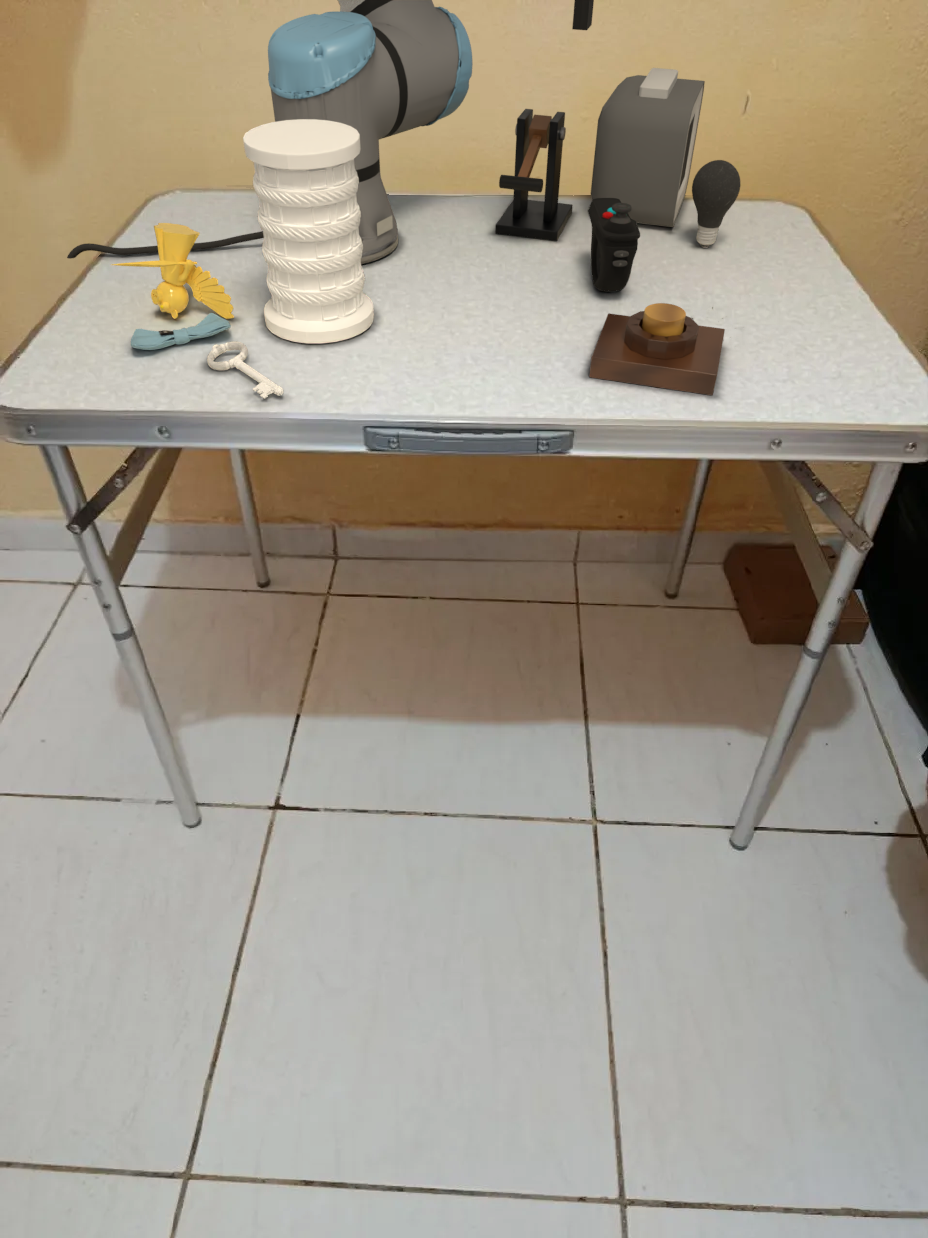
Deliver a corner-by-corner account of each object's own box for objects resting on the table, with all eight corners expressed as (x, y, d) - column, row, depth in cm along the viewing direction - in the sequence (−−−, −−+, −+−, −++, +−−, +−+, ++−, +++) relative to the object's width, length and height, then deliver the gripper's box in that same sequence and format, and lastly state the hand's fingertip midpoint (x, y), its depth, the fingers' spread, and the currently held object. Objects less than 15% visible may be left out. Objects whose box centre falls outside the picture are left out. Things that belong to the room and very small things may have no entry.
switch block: (589, 377, 90) (593, 339, 87) (605, 332, 97) (610, 296, 94) (712, 395, 88) (721, 357, 85) (720, 348, 95) (728, 311, 92)
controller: (595, 308, 101) (606, 215, 95) (579, 263, 110) (588, 175, 104) (634, 307, 102) (647, 214, 95) (614, 262, 111) (625, 175, 104)
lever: (540, 198, 108) (540, 180, 106) (499, 194, 109) (498, 175, 107) (562, 135, 113) (563, 116, 111) (523, 131, 114) (522, 112, 112)
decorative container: (383, 298, 102) (374, 120, 90) (362, 347, 94) (349, 158, 81) (281, 292, 103) (258, 115, 91) (251, 339, 95) (222, 151, 82)
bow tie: (130, 345, 95) (136, 360, 91) (125, 329, 94) (131, 344, 90) (226, 324, 98) (236, 338, 94) (222, 309, 97) (232, 322, 93)
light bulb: (725, 238, 116) (742, 154, 110) (729, 256, 112) (748, 169, 106) (680, 236, 117) (694, 152, 110) (683, 254, 113) (698, 167, 106)
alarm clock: (670, 234, 117) (693, 98, 107) (583, 223, 120) (597, 89, 109) (686, 192, 129) (708, 65, 118) (606, 183, 131) (620, 58, 120)
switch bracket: (556, 241, 115) (565, 129, 106) (495, 233, 117) (499, 123, 108) (572, 213, 122) (581, 106, 113) (513, 206, 124) (518, 101, 115)
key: (195, 353, 91) (231, 333, 93) (199, 361, 92) (233, 341, 93) (262, 399, 85) (298, 377, 86) (265, 407, 85) (301, 385, 87)
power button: (639, 335, 89) (641, 317, 88) (644, 317, 92) (647, 300, 91) (680, 340, 88) (683, 323, 87) (684, 322, 91) (688, 305, 90)
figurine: (131, 244, 86) (131, 337, 90) (238, 244, 94) (233, 329, 98) (66, 212, 92) (70, 301, 96) (172, 214, 100) (171, 296, 104)
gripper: (524, -305, 76) (510, 29, 92) (683, -304, 73) (640, 39, 89) (543, -301, 81) (527, 15, 97) (693, -300, 78) (650, 24, 95)
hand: (582, 26), depth 93 cm, fingers closed
